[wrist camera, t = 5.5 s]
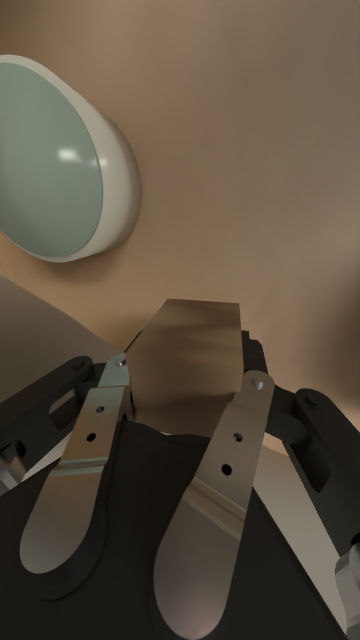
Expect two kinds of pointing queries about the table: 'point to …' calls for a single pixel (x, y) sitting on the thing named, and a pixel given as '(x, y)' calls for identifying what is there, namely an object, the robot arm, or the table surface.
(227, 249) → the table surface
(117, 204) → the ceramic bowl
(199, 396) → the walnut block
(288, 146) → the table surface
